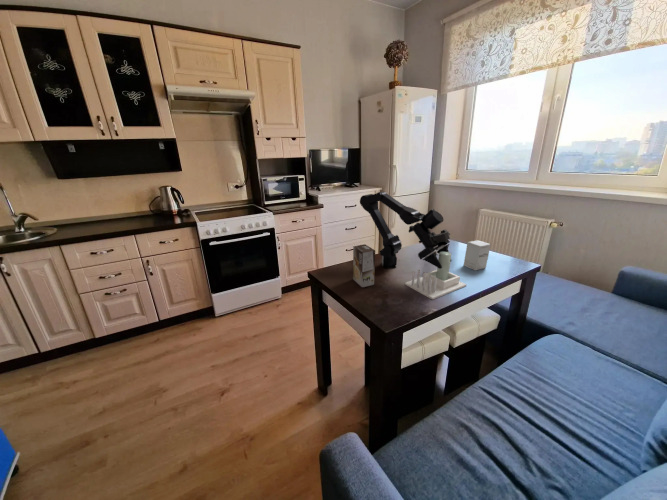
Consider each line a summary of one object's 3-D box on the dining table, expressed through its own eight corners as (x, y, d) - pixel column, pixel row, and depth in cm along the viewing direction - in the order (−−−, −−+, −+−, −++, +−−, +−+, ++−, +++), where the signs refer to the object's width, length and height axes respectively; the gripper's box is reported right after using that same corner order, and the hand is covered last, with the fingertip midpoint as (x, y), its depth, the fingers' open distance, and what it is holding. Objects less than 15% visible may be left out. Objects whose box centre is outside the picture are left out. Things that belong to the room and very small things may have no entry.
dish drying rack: (432, 299, 106) (434, 284, 103) (404, 284, 118) (405, 270, 115) (466, 286, 116) (468, 271, 113) (437, 273, 128) (439, 260, 125)
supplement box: (475, 271, 129) (480, 246, 125) (462, 265, 136) (466, 241, 131) (486, 268, 132) (491, 243, 128) (473, 262, 139) (477, 239, 134)
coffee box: (374, 284, 118) (376, 250, 112) (362, 287, 116) (362, 252, 110) (364, 276, 126) (365, 243, 120) (352, 279, 124) (352, 245, 118)
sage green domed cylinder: (435, 282, 117) (439, 255, 112) (435, 278, 121) (439, 251, 117) (447, 284, 115) (451, 256, 111) (447, 279, 120) (451, 252, 115)
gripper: (428, 229, 106) (452, 262, 103) (448, 220, 119) (470, 250, 115) (408, 243, 114) (430, 275, 111) (429, 234, 127) (449, 262, 123)
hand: (446, 264), depth 115 cm, fingers open, 9 cm apart
